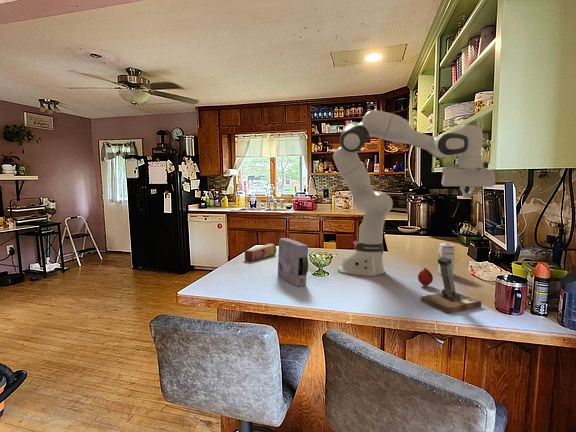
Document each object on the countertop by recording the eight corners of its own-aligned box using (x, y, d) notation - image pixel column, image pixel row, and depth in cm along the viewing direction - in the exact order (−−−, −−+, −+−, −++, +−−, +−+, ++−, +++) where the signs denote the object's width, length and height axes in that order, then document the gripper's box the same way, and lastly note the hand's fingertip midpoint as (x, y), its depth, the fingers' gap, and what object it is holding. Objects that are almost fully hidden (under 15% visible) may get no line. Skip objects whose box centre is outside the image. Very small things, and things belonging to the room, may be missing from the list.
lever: (449, 294, 123) (442, 256, 120) (458, 297, 120) (450, 259, 116) (444, 297, 122) (437, 259, 119) (453, 300, 119) (445, 261, 115)
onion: (420, 283, 145) (421, 265, 145) (434, 285, 142) (435, 267, 141) (415, 286, 141) (416, 267, 140) (429, 289, 137) (430, 270, 136)
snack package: (252, 262, 180) (252, 250, 179) (243, 260, 184) (243, 248, 183) (277, 255, 197) (277, 244, 196) (268, 253, 201) (268, 242, 200)
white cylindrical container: (453, 276, 156) (455, 245, 154) (440, 275, 157) (441, 245, 155) (450, 273, 161) (452, 243, 160) (437, 272, 162) (439, 242, 161)
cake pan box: (308, 286, 141) (309, 244, 139) (298, 288, 138) (299, 245, 136) (286, 274, 157) (286, 237, 155) (277, 276, 155) (277, 238, 153)
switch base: (452, 295, 130) (453, 284, 129) (481, 306, 119) (482, 294, 118) (420, 301, 123) (421, 289, 123) (448, 313, 113) (448, 300, 112)
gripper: (444, 164, 139) (443, 197, 141) (498, 164, 136) (495, 198, 138) (440, 164, 146) (438, 196, 147) (491, 164, 143) (489, 197, 144)
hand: (466, 197), depth 143 cm, fingers closed
